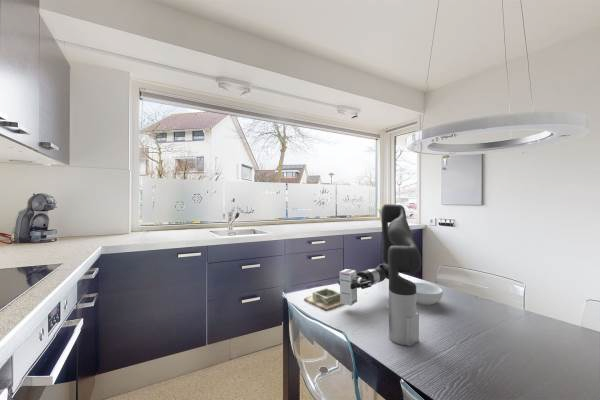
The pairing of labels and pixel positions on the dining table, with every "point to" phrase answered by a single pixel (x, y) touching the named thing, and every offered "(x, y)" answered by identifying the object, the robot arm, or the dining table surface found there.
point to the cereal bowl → (427, 294)
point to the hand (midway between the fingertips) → (344, 284)
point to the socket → (325, 299)
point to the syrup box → (348, 287)
